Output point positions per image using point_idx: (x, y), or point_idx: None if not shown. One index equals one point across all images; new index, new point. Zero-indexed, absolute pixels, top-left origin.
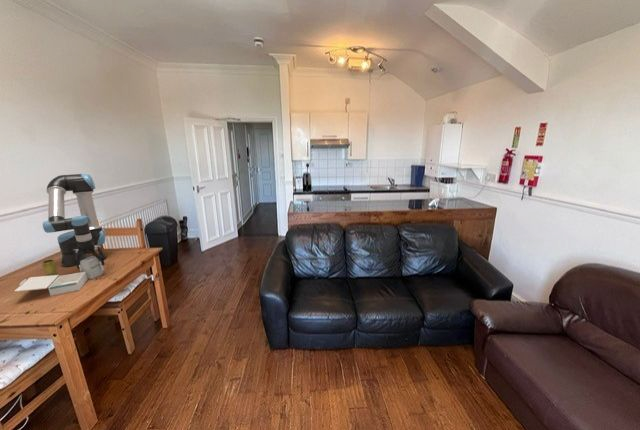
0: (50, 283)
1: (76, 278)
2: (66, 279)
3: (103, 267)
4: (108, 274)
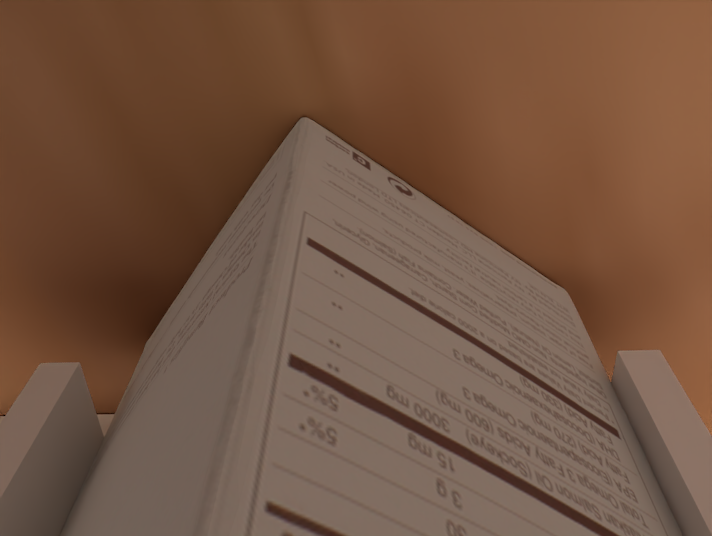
0: None
1: None
2: None
3: (683, 415)
4: (687, 366)
